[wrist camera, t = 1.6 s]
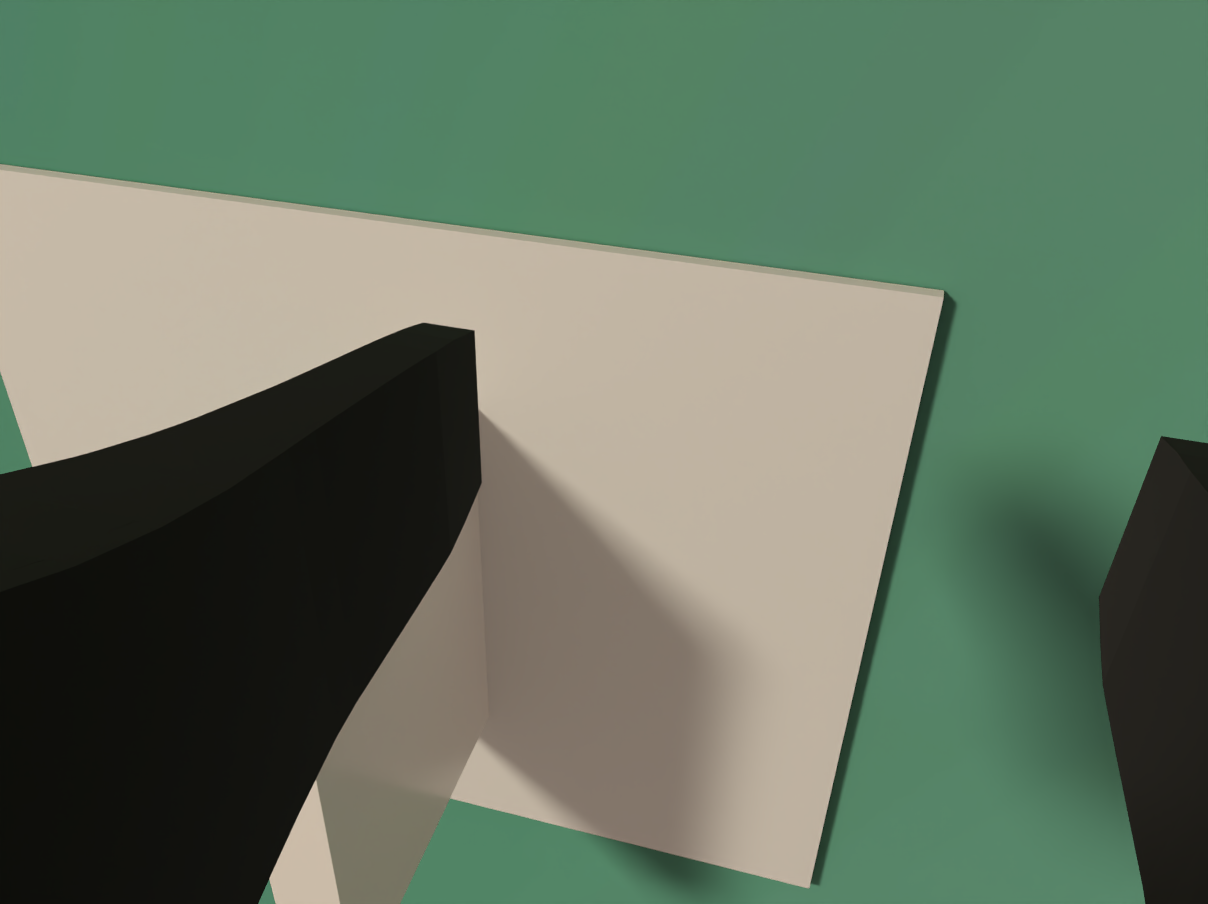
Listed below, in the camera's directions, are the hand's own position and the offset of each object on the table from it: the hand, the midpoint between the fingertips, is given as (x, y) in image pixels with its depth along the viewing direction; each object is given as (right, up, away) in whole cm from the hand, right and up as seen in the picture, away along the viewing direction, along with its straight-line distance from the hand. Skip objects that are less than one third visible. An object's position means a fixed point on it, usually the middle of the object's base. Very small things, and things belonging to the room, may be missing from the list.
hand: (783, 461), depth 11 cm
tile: (-6, -3, +15) cm, 16 cm away
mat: (-7, -3, +16) cm, 17 cm away
